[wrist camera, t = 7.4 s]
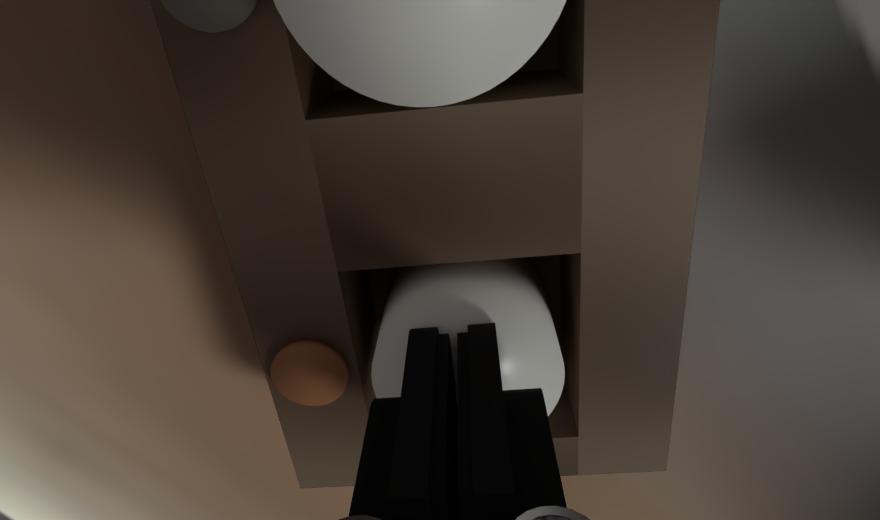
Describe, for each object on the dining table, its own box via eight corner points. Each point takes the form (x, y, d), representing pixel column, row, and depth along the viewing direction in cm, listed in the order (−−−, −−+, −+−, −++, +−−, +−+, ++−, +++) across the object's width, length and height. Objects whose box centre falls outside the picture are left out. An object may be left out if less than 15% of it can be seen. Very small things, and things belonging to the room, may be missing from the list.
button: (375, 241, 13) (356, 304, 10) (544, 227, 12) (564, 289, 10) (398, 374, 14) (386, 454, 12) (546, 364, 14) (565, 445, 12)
